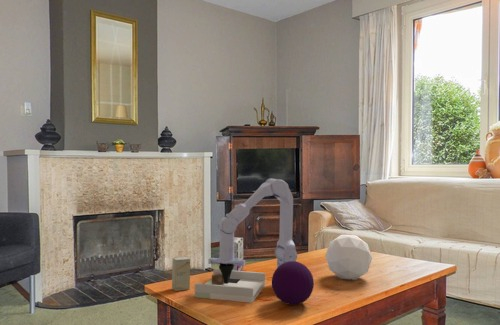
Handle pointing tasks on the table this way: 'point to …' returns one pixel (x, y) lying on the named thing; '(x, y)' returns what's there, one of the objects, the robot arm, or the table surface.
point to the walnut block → (217, 279)
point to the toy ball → (292, 283)
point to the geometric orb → (348, 257)
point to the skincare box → (181, 273)
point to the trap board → (233, 287)
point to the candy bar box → (238, 252)
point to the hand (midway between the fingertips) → (226, 282)
